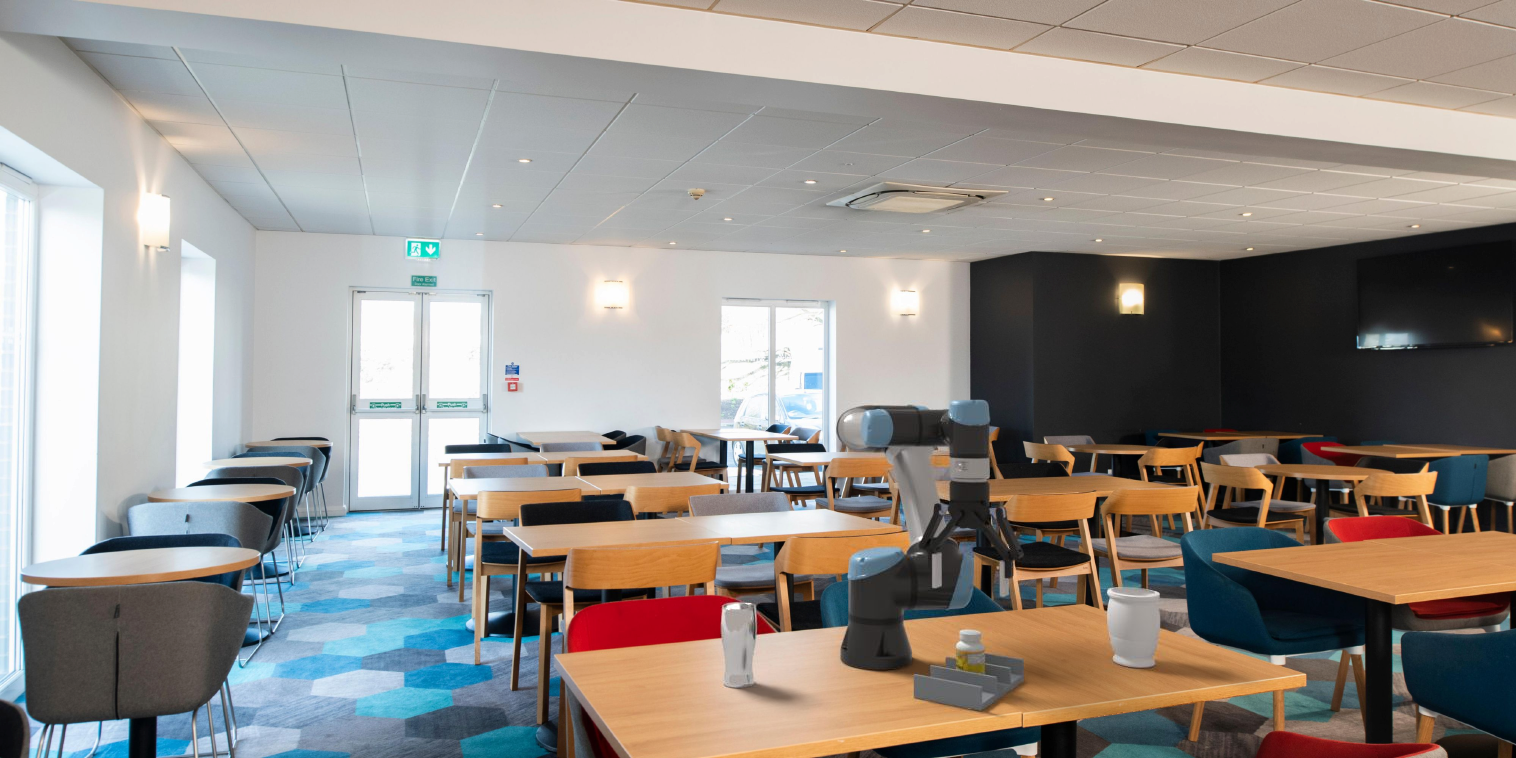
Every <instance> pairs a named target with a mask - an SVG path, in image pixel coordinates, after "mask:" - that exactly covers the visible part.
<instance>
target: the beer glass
mask: <svg viewBox="0 0 1516 758" xmlns="http://www.w3.org/2000/svg"><path fill="white" fill-rule="evenodd" d="M721 607H722V608H721V622H720V634H721V643H722V651H723V654H724V660H725V661H724V663H725V671H724V675H723V681H722V682H723V685H724V686H725V687H728V688H732V689H733V688H734V689H745V688H750V687H752V686H755V677H754V672H753V671H754V670H753V659H754V654H755V648H756V643H757V642H756V641H757V635H758V634H757V632H758V631H757V630H758V625H757V624H758V621H757V620H758V619H757V608H756V607H757V606H756V604H754V603H751V602H742V601H741V602H738V601H737V602H736V601H735V602H727V603H725V604H723V605H722V606H721Z"/></svg>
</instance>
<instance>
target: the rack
mask: <svg viewBox="0 0 1516 758" xmlns="http://www.w3.org/2000/svg"><path fill="white" fill-rule="evenodd" d="M1024 663H1025V659H1024V658H1019V657H1011V656H1007V655H1000V654H994V653H987V652H985V675H984V674H978V673H973V672H967V671H962V670H956V657H950V656H946V657H945V667H943V666H939V665H934V664H933V665H932V664H931V665H930V666H929V670H930V671H929V672H930V673H929V674H930V676H927V675H923V674H916V673H914V674H913V698H914V699H918V700H923V701H928V702H932V703H938V704H943V705H947V706H952V707H957V708H962V707H963V709H967V708H970V709H969V710H971V709H975V710H974V711H976V710H980V711H979V712H982V711H984V710H985V709H987V708H988V707H989V706H991V705H992V704H994V703H995V702H996V701H997V700H999V699H1001V698H1002V697H1003V696H1005V695H1006V694H1007V693H1009V692H1010V691H1012V690H1013V689H1015V688H1017V686H1019V685H1020V684H1021V683H1023V682H1025V664H1024ZM1000 697H1001V698H1000ZM990 704H991V705H990ZM984 708H985V709H984ZM983 709H984V710H983ZM981 710H982V711H981Z"/></svg>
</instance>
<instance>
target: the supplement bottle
mask: <svg viewBox="0 0 1516 758" xmlns="http://www.w3.org/2000/svg"><path fill="white" fill-rule="evenodd" d="M958 636H959V639H960V640H959V641H958V642H957V643H956V645H955V658H956V670H962V671H967V672H973V673H978V674H984V675H985V653H986V650H985V648H986V647H985V645H984V643H982V642H981V640H982V633H981V631H979V630H976V629H961V630H959V635H958Z"/></svg>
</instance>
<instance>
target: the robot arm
mask: <svg viewBox="0 0 1516 758" xmlns="http://www.w3.org/2000/svg"><path fill="white" fill-rule="evenodd" d="M989 408H990V406H989V403H988V401H986V400H984V399H953V400H951V401H950V402H949V408H943V409H930V408H929V407H927V406H925V405H915V404H907V405H889V404H885V405H884V404H881V405H880V404H879V405H877V404H876V405H874V404H871V405H870V404H868V405H867V404H866V405H860V406H856V407H851V408H849V409H847V410H846V411H844V412H842V414H841V415H840V416H839V417H838V419H837V422H836V424H835V425H836V426H835V432H836V436H837V438H838V440H839V441H840V443H841V444H843V445H844V446H845V447H846V448H849V449H850V450H853V451H858V452H861V453H862V452H863V453H877V454H879V453H884V456H885V457H884V458H885V459H886V462H887V463H888V464H889V465H891V467H893V468H894V473H895V477H896V483H897V486H898V491H899V496H900V501H901V502H900V503H901V504H902V505H901V506H902V510H903V515H904V520H905V524H906V525H905V526H906V529H907V535H908V537H909V538H908V539H909V543H910V545H909V546H908V547H907V548H906V551H905V552H904V549H903V548H900V547H897V546H888V547H886V546H880V547H873V548H872V547H871V548H866V549H862V550H860V551H857V552H855V553H853V554H852V555H851V556H850V558H849V560H848V561H849V562H848V569H847V579H848V624H847V627H846V630H845V633H844V636H843V639H842V642H841V646H840V652H839V653H840V657H839V658H840V661H841V662H842V663H844V664H845V665H847V666H851V667H855V668H859V669H866V670H882V671H883V670H896V669H901V668H906V667H908V666H910V665H911V664H912V662H913V650H912V646H911V643H910V639H909V637H908V634H907V632H906V628H905V624H904V619H905V618H904V613H905V611H910V610H911V611H913V610H914V611H918V610H919V611H921V610H925V611H926V610H928V611H929V610H946V611H949V610H952V609H953V610H955V609H962V608H963V609H964V608H965V607H966V606H967V605H968V604H969V603H970V601H971V598H972V596H973V592H974V584H975V566H974V561H973V558H972V556H971V555H970V554H969V553H967V552H965V551H964V552H961V551H960V548H959V544H958V542H957V541H956V540H955V539H954V538H951V537H950V536H951V535H952V534H953V533H954V532H955V531H956V529H958V528H959V529H962V530H964V529H970V530H980V532H981V533H983V534H984V535H985V537H986V538H987V539H988V540H989V542H990V543H991V545H992V546H993V547H994V549H995V550H996V551H997V553H999V555H1000V556H1001V558H1002V560H999V597H1002V598H1005V597H1007V596H1008V595H1010V580H1009V579H1013V577H1014V573H1015V572H1014V571H1015V569H1014V564H1015V563H1014V562H1015V561H1016V560H1017V559H1020V558H1023V557H1024V555H1025V553H1024V551H1023V549H1022V547H1021V545H1020V543H1019V540H1018V538H1017V536H1016V535H1015V532H1014V530H1013V528H1012V526H1011V525H1012V524H1011V523H1010V521H1009V519H1008V515H1007V508H1006V507H1005V506H1000V507H991V504H990V496H991V495H990V493H991V492H990V491H991V490H990V489H991V487H990V482H989V481H988V479H990V476H991V475H990V472H991V471H990V422H991V416H990V409H989ZM938 447H941V448H942V447H946V448H948V447H949V477H950V478H951V479H952V480H950V482H949V504H945V503H944V502H941V500H940V496H939V491H938V488H937V487H938V486H937V484H936V479H935V476H934V472H933V468H932V464H931V460H930V459H931V458H932V456H933V454H934V451H935V450H936V448H938ZM947 513H948V514H949V515H950V517H951V519H950V520H949V522H947V524H946V521H945V516H944V515H946V514H947ZM991 515H992V517H993V518H994V519H995V520H996V523H997V525H998V527H999V530H1000V531H1001V534H1002V536H1003V538H1004V540H1005V542H1006V543H1005V542H1004V540H1003V539H1002V538H1001V536H1000V535H999V533H997V531H996V530H995V528H994V526H993V524H992V522H991V521H989V518H990V517H991Z"/></svg>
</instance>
